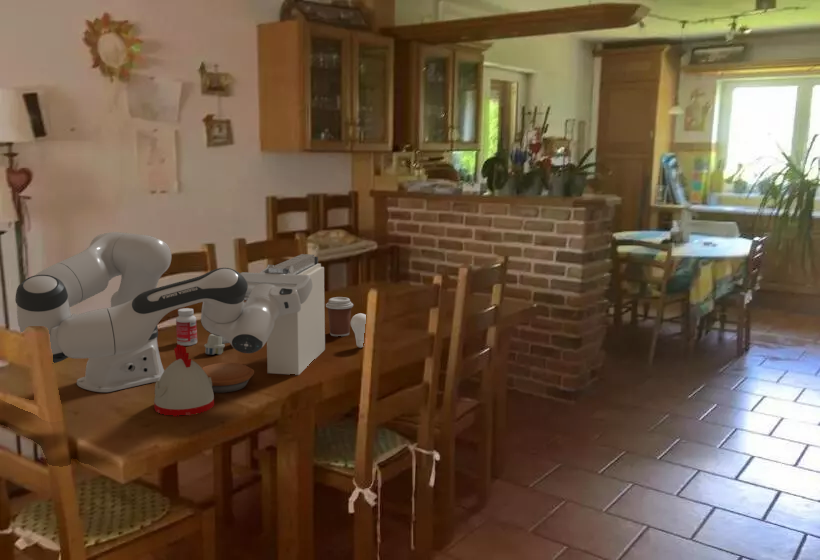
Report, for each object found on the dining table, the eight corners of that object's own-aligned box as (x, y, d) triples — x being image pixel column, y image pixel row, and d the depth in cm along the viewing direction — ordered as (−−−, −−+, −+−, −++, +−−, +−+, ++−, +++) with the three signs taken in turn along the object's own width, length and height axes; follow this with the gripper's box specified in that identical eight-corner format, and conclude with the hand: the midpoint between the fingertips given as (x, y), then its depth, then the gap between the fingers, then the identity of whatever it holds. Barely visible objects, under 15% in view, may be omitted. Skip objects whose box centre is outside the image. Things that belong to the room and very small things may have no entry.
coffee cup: (325, 337, 243) (324, 302, 241) (327, 330, 252) (326, 296, 250) (352, 337, 244) (352, 302, 241) (353, 330, 253) (353, 296, 250)
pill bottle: (192, 346, 231) (191, 312, 229) (174, 345, 232) (172, 311, 230) (200, 341, 237) (198, 307, 235) (181, 340, 238) (180, 307, 236)
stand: (298, 375, 204) (296, 271, 199) (267, 373, 205) (264, 270, 200) (325, 349, 230) (324, 256, 224) (297, 347, 231) (296, 255, 226)
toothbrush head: (267, 326, 242) (215, 333, 219) (266, 346, 242) (213, 355, 220) (254, 324, 244) (201, 331, 222) (253, 344, 245) (200, 353, 222)
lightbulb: (365, 351, 228) (365, 316, 226) (347, 349, 230) (347, 314, 228) (373, 346, 234) (373, 312, 232) (355, 344, 235) (355, 310, 233)
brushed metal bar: (283, 283, 196) (282, 268, 195) (268, 283, 196) (268, 268, 196) (314, 267, 223) (314, 254, 222) (301, 267, 223) (301, 254, 223)
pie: (221, 400, 184) (220, 380, 183) (181, 387, 193) (180, 369, 192) (266, 384, 196) (266, 366, 195) (227, 373, 205) (226, 356, 204)
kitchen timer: (200, 392, 189) (198, 336, 186) (223, 408, 178) (222, 348, 176) (146, 403, 180) (143, 344, 178) (167, 420, 170) (164, 357, 167)
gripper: (230, 308, 193) (247, 274, 203) (305, 312, 189) (318, 277, 200) (224, 290, 189) (242, 256, 199) (301, 293, 185) (315, 259, 196)
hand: (281, 266), depth 199 cm, fingers closed on brushed metal bar, 4 cm apart
